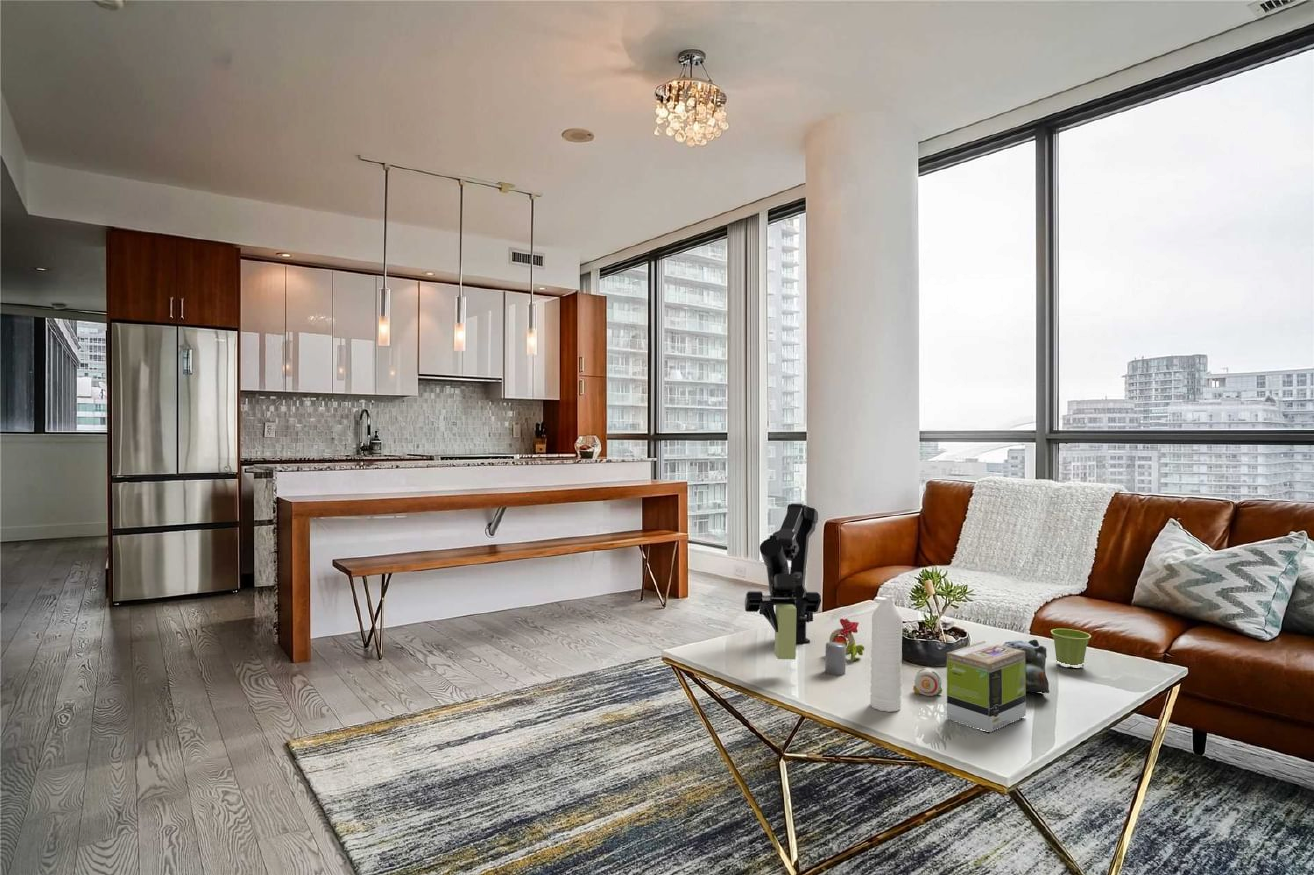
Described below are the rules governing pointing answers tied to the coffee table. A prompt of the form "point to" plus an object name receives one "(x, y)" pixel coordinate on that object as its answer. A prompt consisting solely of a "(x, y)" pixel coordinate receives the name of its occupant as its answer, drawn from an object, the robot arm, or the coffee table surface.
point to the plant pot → (1070, 645)
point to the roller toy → (928, 682)
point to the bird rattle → (847, 632)
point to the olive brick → (785, 631)
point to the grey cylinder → (835, 658)
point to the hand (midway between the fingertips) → (786, 631)
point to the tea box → (986, 685)
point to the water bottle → (886, 655)
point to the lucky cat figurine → (1033, 664)
